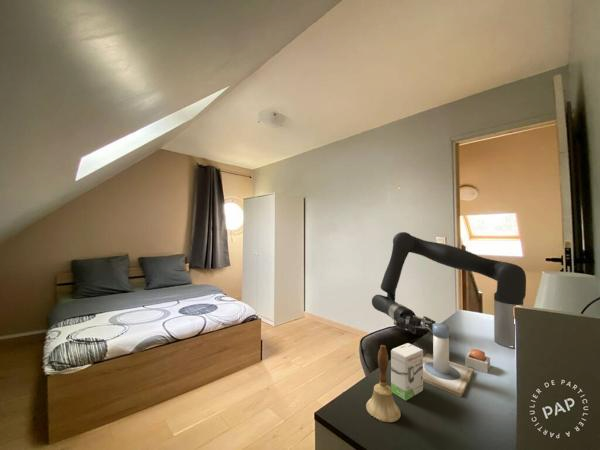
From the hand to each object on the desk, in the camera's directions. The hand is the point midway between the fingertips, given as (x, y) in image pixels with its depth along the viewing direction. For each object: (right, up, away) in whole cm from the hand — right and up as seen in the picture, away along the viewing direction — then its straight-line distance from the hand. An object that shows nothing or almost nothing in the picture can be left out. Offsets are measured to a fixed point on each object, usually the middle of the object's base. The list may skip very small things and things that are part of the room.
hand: (426, 330), depth 86 cm
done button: (+16, -8, -3) cm, 18 cm away
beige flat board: (+1, -10, -8) cm, 13 cm away
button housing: (+16, -11, -3) cm, 20 cm away
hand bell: (-24, -10, -24) cm, 35 cm away
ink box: (-14, -10, -17) cm, 24 cm away
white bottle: (+1, -9, -8) cm, 12 cm away
